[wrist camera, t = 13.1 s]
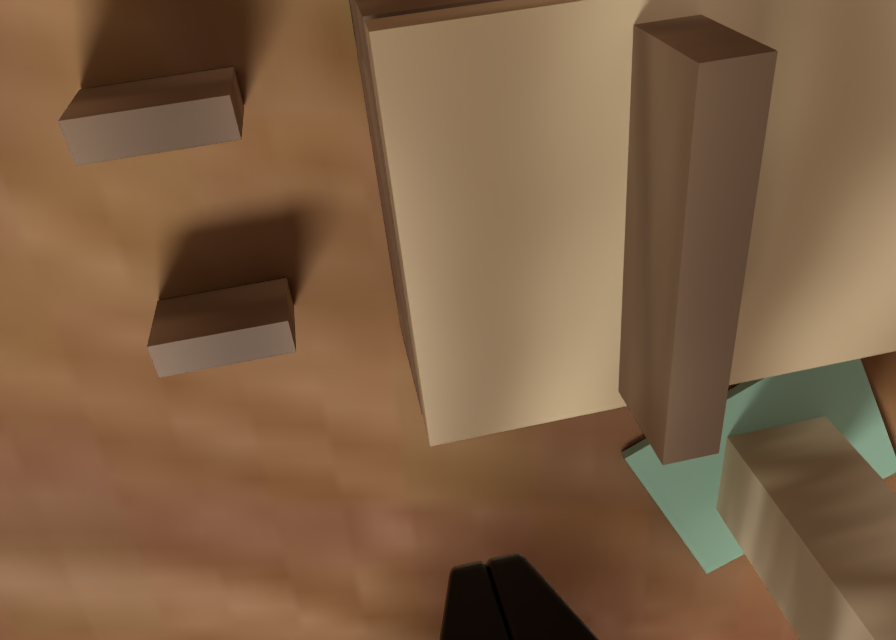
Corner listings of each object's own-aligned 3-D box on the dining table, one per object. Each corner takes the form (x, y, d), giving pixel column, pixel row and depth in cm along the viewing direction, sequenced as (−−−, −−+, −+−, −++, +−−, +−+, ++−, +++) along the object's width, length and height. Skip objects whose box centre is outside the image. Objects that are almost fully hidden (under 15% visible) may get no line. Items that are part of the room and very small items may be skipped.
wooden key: (716, 508, 27) (999, 954, 17) (726, 436, 25) (1056, 889, 15) (807, 488, 28) (1141, 911, 17) (825, 415, 26) (1216, 843, 15)
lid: (424, 423, 18) (450, 528, 15) (363, 20, 13) (388, 74, 10) (1006, 306, 19) (1120, 383, 17) (1159, -95, 14) (1357, -73, 12)
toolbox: (184, 373, 20) (170, 464, 17) (54, 19, 15) (4, 68, 12) (873, 243, 22) (961, 307, 20) (960, -107, 17) (1097, -90, 14)
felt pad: (703, 567, 30) (707, 574, 29) (621, 452, 25) (624, 458, 25) (895, 463, 28) (900, 469, 28) (843, 323, 24) (849, 328, 24)
